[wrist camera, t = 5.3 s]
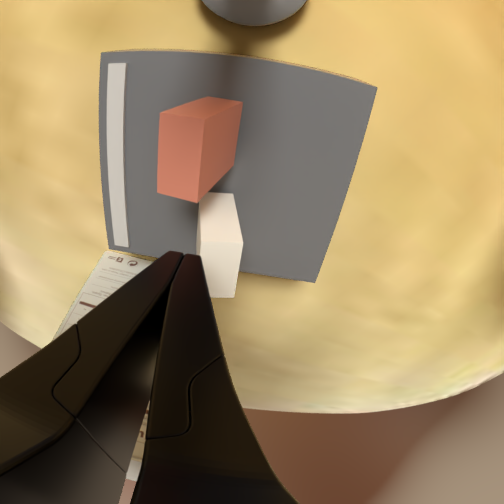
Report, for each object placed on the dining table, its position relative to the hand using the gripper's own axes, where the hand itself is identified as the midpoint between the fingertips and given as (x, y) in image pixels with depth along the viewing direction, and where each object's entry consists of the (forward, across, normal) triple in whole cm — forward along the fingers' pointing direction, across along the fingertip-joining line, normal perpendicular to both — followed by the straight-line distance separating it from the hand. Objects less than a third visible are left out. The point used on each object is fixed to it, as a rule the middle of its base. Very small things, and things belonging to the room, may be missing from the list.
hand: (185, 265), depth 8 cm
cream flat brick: (+6, 0, +2) cm, 6 cm away
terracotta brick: (+6, 0, -2) cm, 6 cm away
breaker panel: (+9, 0, 0) cm, 9 cm away
